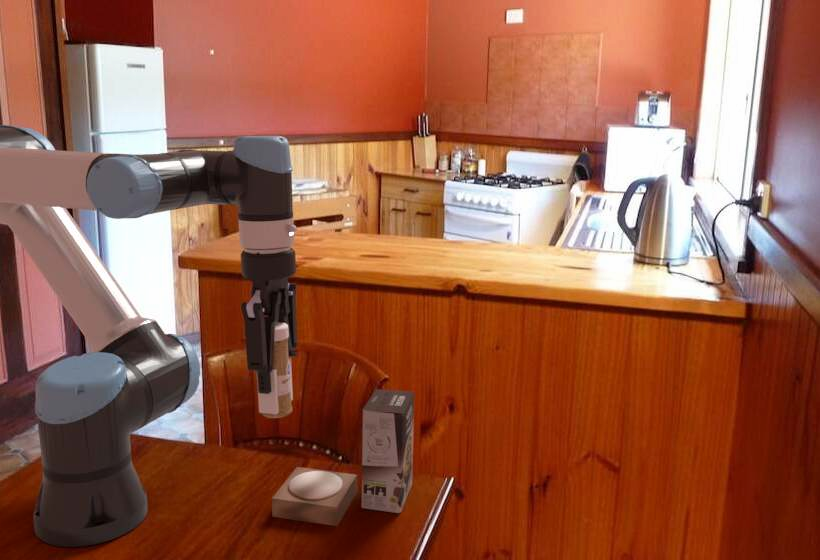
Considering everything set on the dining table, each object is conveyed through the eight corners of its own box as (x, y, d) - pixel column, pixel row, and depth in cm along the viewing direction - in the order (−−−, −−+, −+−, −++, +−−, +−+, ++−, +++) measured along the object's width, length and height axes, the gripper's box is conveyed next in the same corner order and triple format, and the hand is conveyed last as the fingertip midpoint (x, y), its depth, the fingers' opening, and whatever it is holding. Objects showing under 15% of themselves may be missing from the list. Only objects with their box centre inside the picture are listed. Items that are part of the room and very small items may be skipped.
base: (272, 516, 108) (271, 495, 108) (297, 483, 118) (297, 464, 117) (337, 526, 106) (336, 504, 106) (357, 492, 116) (357, 472, 115)
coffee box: (401, 514, 110) (403, 413, 106) (360, 509, 111) (360, 409, 107) (413, 484, 118) (416, 390, 115) (375, 480, 120) (375, 387, 116)
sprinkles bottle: (294, 417, 106) (290, 327, 103) (262, 421, 105) (257, 330, 102) (290, 405, 111) (285, 319, 108) (259, 409, 109) (254, 322, 106)
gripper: (265, 261, 93) (275, 432, 98) (316, 239, 110) (322, 386, 115) (212, 259, 95) (224, 427, 100) (269, 237, 112) (277, 383, 117)
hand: (276, 405), depth 107 cm, fingers closed on sprinkles bottle, 4 cm apart
